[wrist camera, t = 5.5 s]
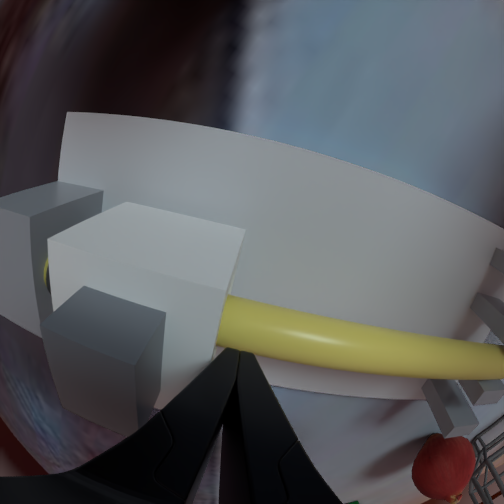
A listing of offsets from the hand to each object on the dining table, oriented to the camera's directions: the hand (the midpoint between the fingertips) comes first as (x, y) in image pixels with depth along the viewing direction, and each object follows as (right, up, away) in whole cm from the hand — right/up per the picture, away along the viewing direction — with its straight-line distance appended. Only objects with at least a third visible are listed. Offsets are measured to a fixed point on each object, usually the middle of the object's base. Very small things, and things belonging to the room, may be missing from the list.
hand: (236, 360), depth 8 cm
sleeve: (-3, +2, +4) cm, 5 cm away
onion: (+17, -13, +11) cm, 24 cm away
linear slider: (+3, +2, +6) cm, 7 cm away
